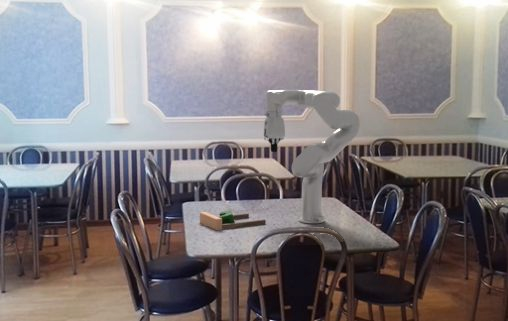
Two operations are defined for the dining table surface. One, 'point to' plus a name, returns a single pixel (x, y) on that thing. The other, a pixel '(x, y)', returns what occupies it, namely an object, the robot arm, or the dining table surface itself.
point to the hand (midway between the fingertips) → (274, 151)
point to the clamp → (227, 217)
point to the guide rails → (242, 224)
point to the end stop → (211, 220)
